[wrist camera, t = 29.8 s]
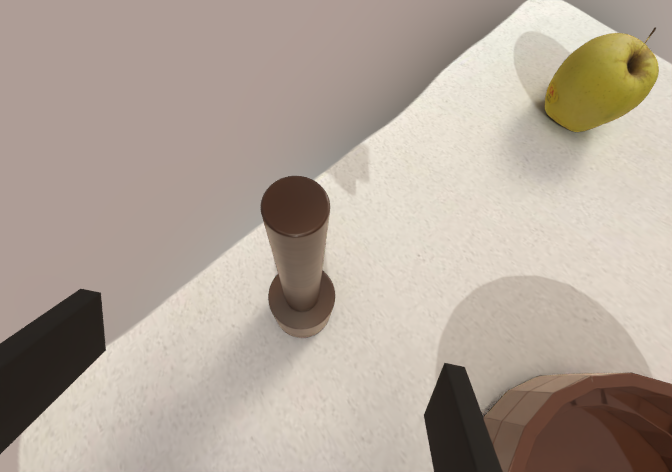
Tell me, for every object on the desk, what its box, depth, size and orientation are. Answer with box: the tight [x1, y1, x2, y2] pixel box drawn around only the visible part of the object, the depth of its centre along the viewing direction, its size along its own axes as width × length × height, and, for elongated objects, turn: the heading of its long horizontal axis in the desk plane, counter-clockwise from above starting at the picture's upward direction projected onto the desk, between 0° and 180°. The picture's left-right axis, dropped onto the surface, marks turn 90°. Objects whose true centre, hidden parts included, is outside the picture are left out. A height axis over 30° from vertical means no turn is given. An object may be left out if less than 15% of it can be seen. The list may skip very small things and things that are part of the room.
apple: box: [545, 28, 659, 132], centre depth 33 cm, size 8×8×10 cm
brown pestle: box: [261, 176, 335, 338], centre depth 19 cm, size 4×4×18 cm
